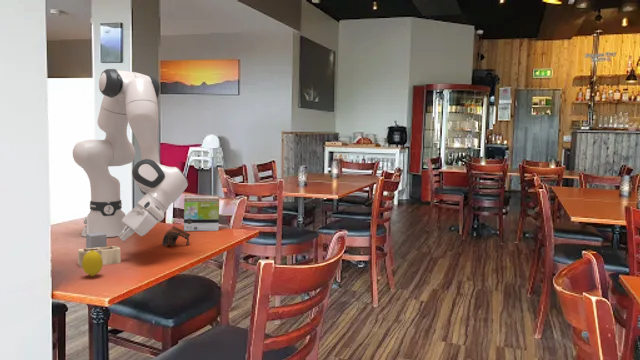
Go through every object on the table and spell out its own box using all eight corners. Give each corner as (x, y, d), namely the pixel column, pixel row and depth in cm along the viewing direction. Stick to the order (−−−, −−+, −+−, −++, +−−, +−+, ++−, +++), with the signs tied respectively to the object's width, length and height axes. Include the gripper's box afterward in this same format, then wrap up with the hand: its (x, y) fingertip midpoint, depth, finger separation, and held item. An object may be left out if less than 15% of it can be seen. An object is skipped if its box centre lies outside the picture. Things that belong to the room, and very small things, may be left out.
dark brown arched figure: (162, 244, 201) (172, 225, 202) (183, 255, 201) (194, 236, 203) (156, 242, 189) (167, 222, 190) (179, 254, 189) (190, 234, 191)
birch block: (117, 260, 174) (78, 264, 167) (117, 245, 173) (78, 248, 167) (120, 263, 169) (80, 268, 163) (120, 248, 169) (80, 252, 163)
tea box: (183, 231, 223) (183, 197, 221) (184, 227, 232) (184, 194, 231) (219, 231, 226) (219, 197, 225) (218, 226, 236) (218, 194, 235)
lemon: (86, 274, 156) (85, 247, 155) (105, 273, 156) (104, 247, 156) (79, 279, 150) (78, 252, 150) (99, 279, 151) (98, 252, 150)
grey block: (86, 257, 176) (85, 233, 176) (101, 254, 180) (101, 232, 179) (91, 259, 173) (91, 236, 172) (106, 257, 176) (106, 234, 175)
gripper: (136, 198, 183) (107, 227, 178) (151, 205, 166) (120, 238, 161) (149, 209, 186) (121, 239, 181) (165, 218, 168) (135, 251, 164)
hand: (120, 239), depth 171 cm, fingers closed
